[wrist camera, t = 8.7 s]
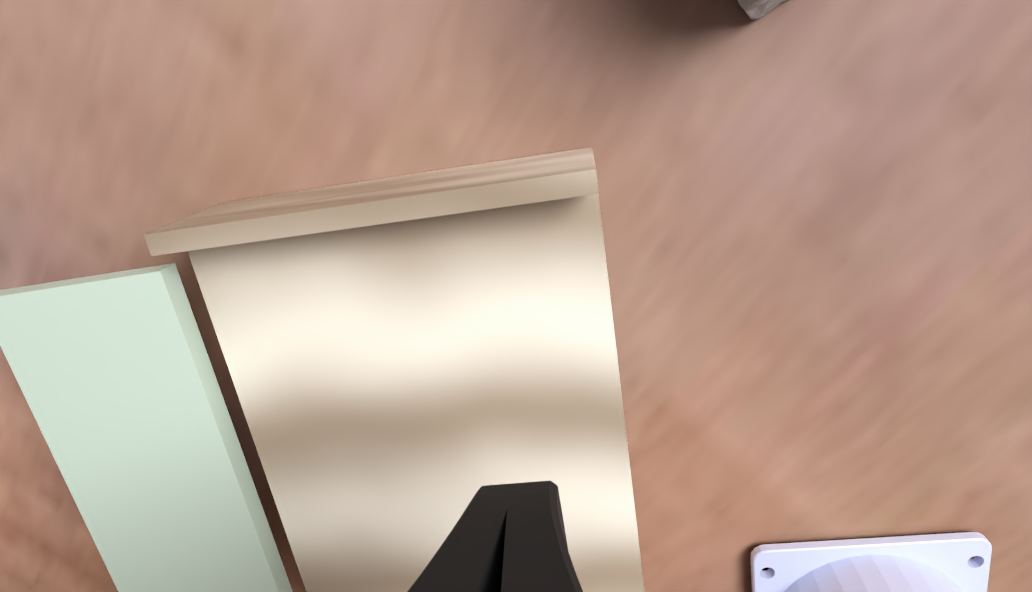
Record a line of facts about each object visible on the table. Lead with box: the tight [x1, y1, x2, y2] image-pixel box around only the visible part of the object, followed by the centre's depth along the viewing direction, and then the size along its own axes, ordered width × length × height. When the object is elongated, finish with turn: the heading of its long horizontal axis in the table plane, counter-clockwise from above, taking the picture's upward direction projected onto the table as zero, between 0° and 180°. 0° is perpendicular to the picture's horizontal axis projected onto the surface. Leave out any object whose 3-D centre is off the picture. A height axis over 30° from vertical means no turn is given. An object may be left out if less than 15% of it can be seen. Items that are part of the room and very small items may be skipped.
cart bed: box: [144, 147, 644, 592], centre depth 20 cm, size 16×12×4 cm
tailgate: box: [0, 263, 293, 592], centre depth 21 cm, size 14×1×6 cm
